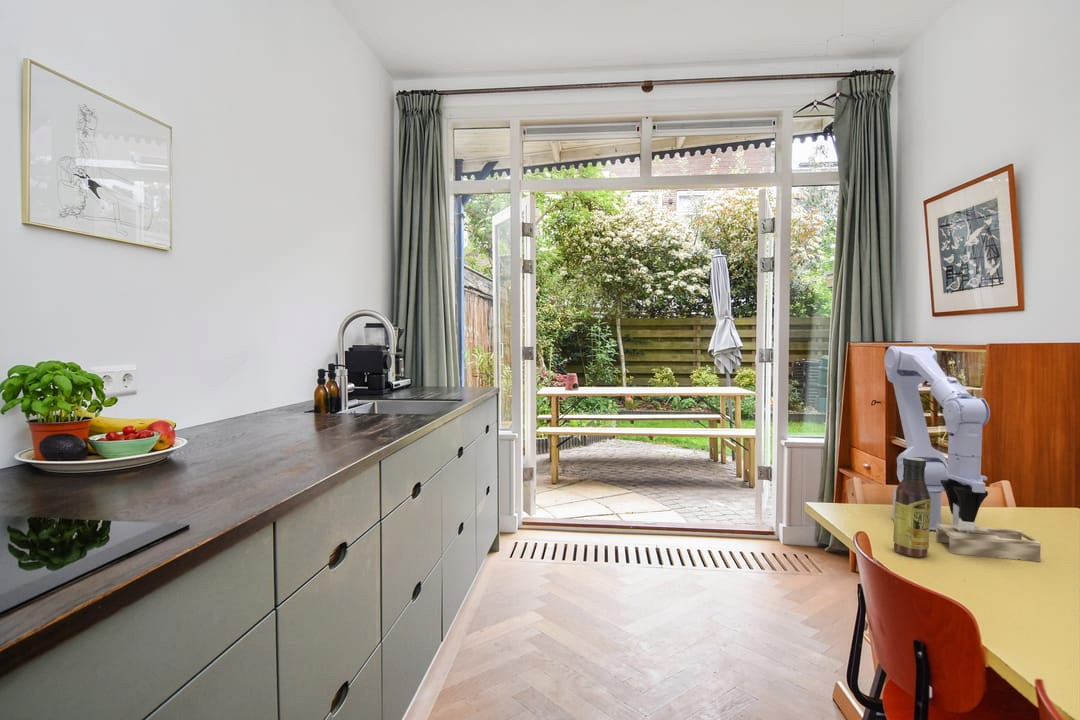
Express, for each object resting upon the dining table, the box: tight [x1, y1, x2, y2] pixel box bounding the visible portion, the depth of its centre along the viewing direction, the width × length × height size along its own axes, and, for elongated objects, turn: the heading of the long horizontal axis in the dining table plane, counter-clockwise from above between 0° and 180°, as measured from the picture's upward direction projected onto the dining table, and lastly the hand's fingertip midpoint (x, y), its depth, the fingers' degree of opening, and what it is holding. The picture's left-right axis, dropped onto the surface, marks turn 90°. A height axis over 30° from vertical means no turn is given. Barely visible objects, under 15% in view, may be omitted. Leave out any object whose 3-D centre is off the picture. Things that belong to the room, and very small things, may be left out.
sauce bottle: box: [892, 457, 931, 558], centre depth 119 cm, size 6×6×20 cm
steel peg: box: [952, 503, 976, 533], centre depth 122 cm, size 4×4×9 cm
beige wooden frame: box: [935, 523, 1042, 562], centre depth 121 cm, size 16×8×4 cm, turn 74°
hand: (962, 517), depth 122 cm, fingers open, 4 cm apart
